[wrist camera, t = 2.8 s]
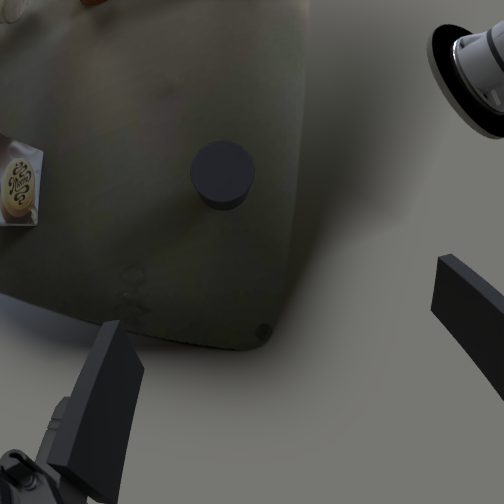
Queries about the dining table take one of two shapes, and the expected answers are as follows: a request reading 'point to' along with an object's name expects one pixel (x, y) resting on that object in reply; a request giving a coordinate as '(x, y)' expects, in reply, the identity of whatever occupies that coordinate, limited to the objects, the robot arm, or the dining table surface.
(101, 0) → the bottle
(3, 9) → the vase
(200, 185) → the disc
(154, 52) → the dining table surface
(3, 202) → the coffee box
